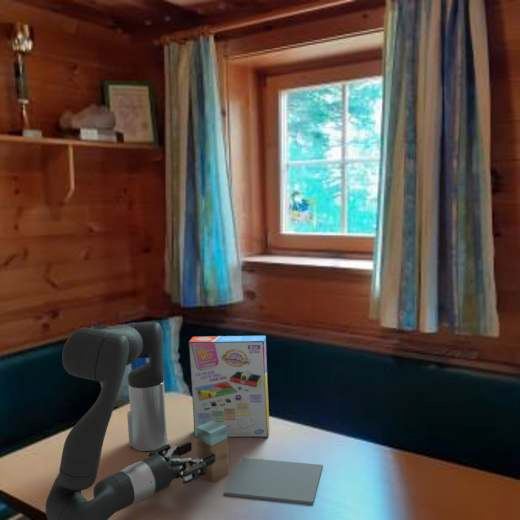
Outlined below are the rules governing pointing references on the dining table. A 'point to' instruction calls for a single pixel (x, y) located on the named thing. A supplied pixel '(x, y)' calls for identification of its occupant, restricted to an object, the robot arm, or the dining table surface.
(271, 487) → the rubber mat
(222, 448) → the brown and blue block
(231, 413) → the game box
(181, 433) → the dining table surface
